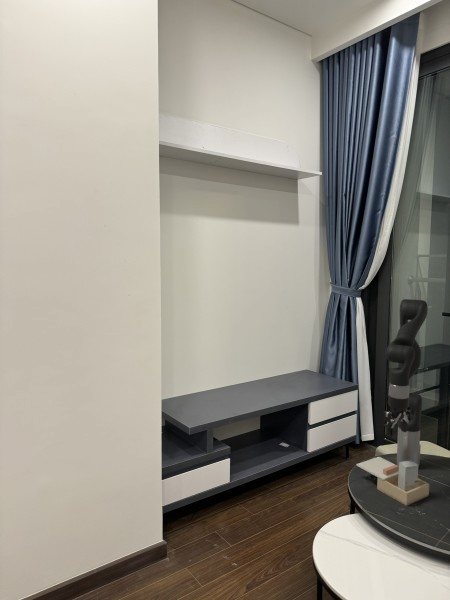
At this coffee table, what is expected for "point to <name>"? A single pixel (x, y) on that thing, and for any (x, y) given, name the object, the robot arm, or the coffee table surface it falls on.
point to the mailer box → (400, 495)
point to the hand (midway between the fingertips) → (397, 433)
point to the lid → (380, 468)
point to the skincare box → (407, 475)
